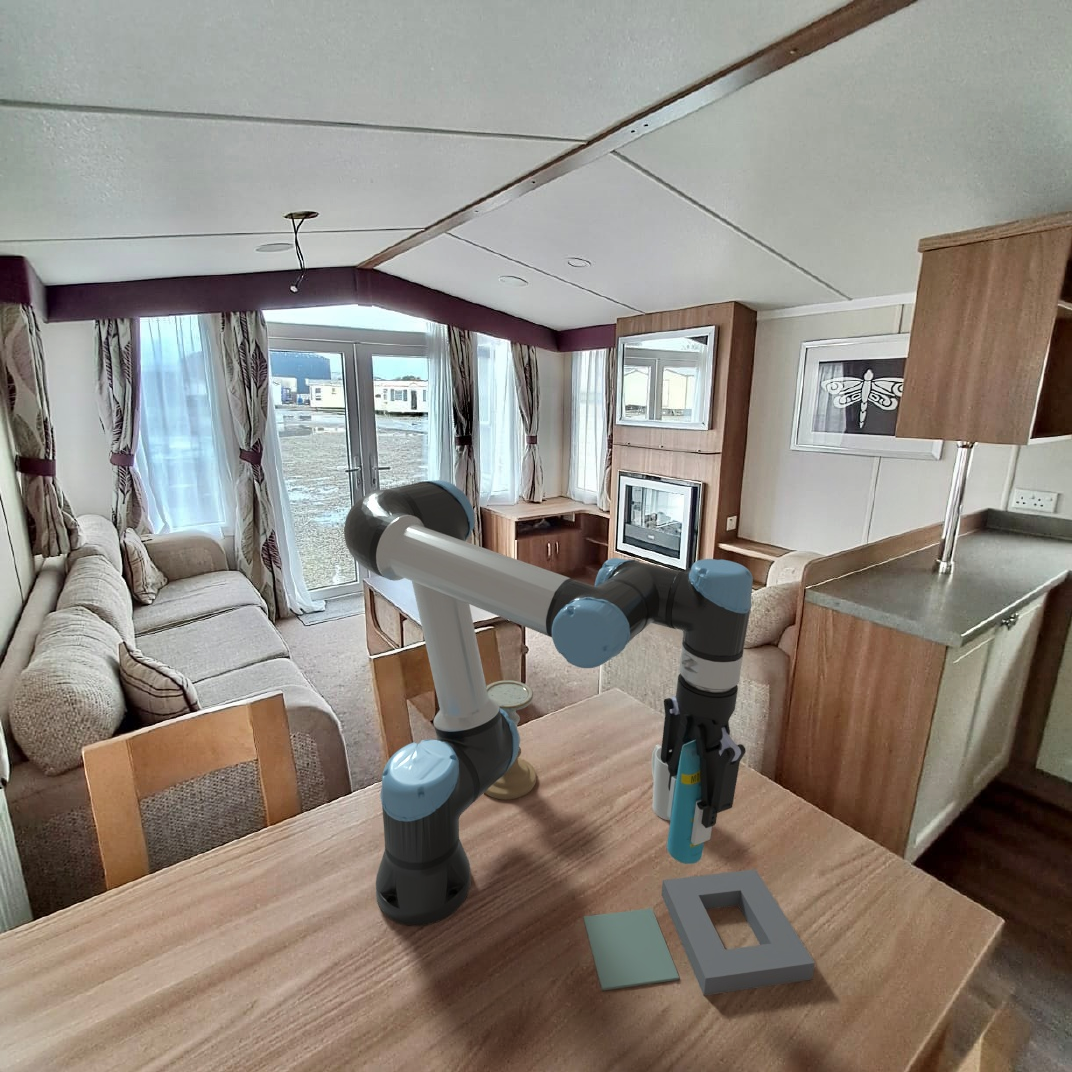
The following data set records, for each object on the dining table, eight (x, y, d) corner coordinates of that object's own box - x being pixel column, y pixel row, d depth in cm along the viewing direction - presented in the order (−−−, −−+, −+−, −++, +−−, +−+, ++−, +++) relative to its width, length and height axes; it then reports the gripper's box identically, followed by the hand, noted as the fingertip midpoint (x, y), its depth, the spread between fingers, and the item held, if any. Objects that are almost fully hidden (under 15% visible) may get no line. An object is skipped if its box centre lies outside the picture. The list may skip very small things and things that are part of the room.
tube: (684, 875, 78) (701, 753, 73) (655, 853, 82) (669, 735, 76) (713, 847, 83) (731, 731, 78) (684, 828, 86) (700, 715, 81)
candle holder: (535, 801, 114) (538, 710, 109) (473, 799, 114) (472, 708, 109) (536, 761, 126) (538, 678, 120) (480, 760, 126) (479, 676, 121)
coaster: (602, 990, 79) (602, 988, 78) (583, 918, 89) (583, 916, 89) (678, 979, 80) (679, 977, 80) (651, 910, 91) (652, 908, 91)
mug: (693, 817, 110) (699, 763, 107) (663, 826, 108) (668, 770, 105) (664, 784, 119) (669, 733, 116) (636, 791, 117) (640, 739, 114)
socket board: (703, 995, 78) (705, 978, 77) (661, 894, 93) (662, 879, 93) (811, 979, 81) (815, 962, 80) (753, 884, 96) (755, 869, 95)
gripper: (644, 653, 81) (630, 793, 87) (735, 721, 66) (709, 885, 72) (687, 644, 84) (670, 780, 90) (783, 707, 69) (754, 866, 75)
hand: (687, 826), depth 81 cm, fingers closed on tube, 5 cm apart
